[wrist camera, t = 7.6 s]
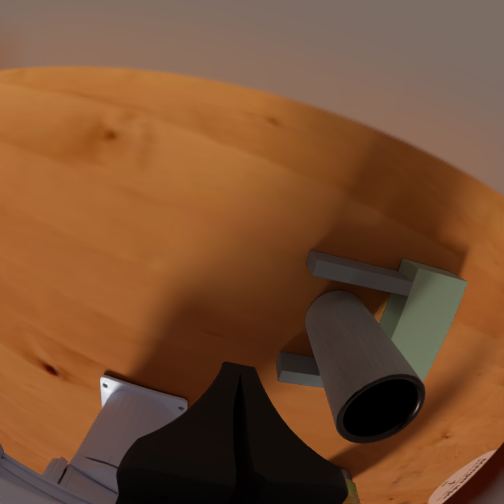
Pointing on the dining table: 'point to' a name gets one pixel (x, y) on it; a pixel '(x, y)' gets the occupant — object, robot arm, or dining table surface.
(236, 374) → the robot arm
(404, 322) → the mount
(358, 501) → the sauce bottle
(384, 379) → the grey hollow tube
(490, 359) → the dining table surface
